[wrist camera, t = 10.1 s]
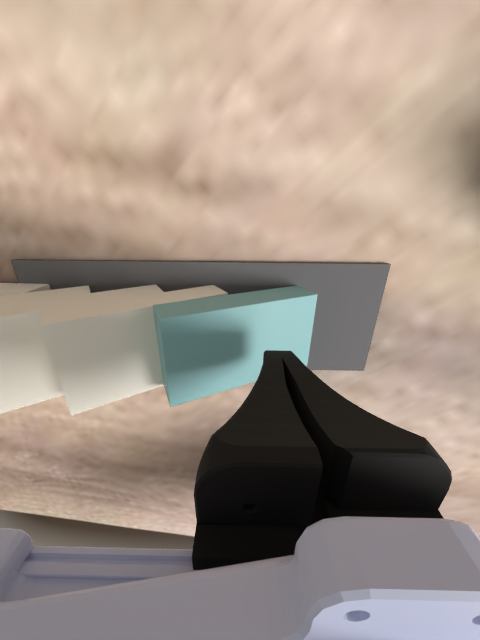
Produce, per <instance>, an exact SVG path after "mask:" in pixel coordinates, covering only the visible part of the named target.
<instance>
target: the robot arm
mask: <svg viewBox="0 0 480 640" xmlns="http://www.w3.org/2000/svg"><path fill="white" fill-rule="evenodd" d="M451 481H452V476H451V471H450V469H449V467H448V466H447V464H446V463H445V462H444V460H443V459H442V458H441V457H440V455H439V454H438V453H437V452H436V450H435V449H434V448H433V447H432V445H431V444H430V443H429V442H428V441H427V440H426V438H424V437H421V436H419V435H417V434H414V433H412V432H409V431H407V430H404V429H402V428H400V427H397V426H395V425H393V424H391V423H389V422H387V421H384V420H382V419H380V418H378V417H376V416H374V415H373V414H371V413H369V412H367V411H365V410H363V409H362V408H360V407H358V406H357V405H355V404H353V403H352V402H350V401H349V400H347V399H345V398H344V397H343V396H341V395H340V394H338V393H337V392H335V391H334V390H333V389H331V388H330V387H329V386H328V385H326V384H325V383H324V382H323V381H322V380H320V379H319V378H318V377H317V376H316V375H315V374H314V373H313V372H312V371H310V370H309V369H308V368H307V367H306V366H305V365H304V364H303V363H302V362H301V360H300V359H299V358H298V357H297V356H296V355H295V354H294V353H293V352H292V351H277V350H266V351H265V352H264V354H263V365H262V368H261V371H260V374H259V376H258V378H257V381H256V383H255V385H254V387H253V389H252V390H251V392H250V394H249V395H248V397H247V398H246V400H245V401H244V403H243V404H242V405H241V407H240V408H239V409H238V410H237V412H236V413H235V414H234V415H233V416H232V417H231V418H230V419H229V420H228V421H227V422H226V423H225V424H224V425H223V426H222V427H221V428H220V429H219V430H218V431H217V432H215V433H214V434H213V435H212V436H211V438H210V440H209V442H208V444H207V447H206V449H205V451H204V454H203V456H202V459H201V461H200V465H199V468H198V471H197V476H196V483H195V490H194V500H195V509H196V518H197V525H196V532H195V539H194V545H193V550H190V549H189V550H188V549H186V550H185V549H146V548H145V549H144V548H102V547H58V546H33V542H32V539H31V537H30V536H29V534H27V533H26V532H25V531H23V530H20V529H15V528H0V640H480V537H479V535H478V534H477V533H476V532H475V531H474V530H473V529H472V528H471V527H470V526H469V525H467V524H464V523H462V522H458V521H453V520H447V519H444V518H443V517H442V515H441V514H440V512H439V510H438V508H439V507H440V505H441V503H442V501H443V499H444V497H445V496H446V494H447V492H448V490H449V487H450V484H451Z"/></svg>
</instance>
